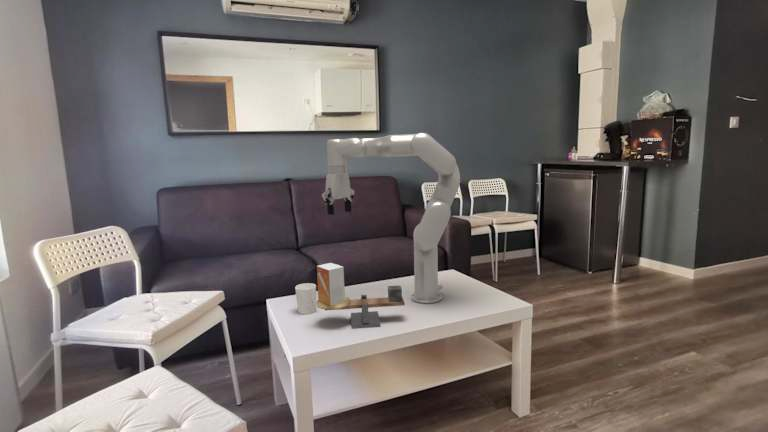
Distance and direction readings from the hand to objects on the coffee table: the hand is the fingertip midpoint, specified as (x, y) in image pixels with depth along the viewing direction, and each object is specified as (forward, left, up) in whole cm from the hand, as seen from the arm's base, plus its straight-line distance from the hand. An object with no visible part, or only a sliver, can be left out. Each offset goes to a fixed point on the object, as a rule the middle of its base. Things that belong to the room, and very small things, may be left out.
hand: (339, 212), depth 166 cm
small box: (+20, +15, -28) cm, 38 cm away
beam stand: (+12, +23, -36) cm, 45 cm away
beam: (+13, +22, -31) cm, 40 cm away
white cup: (+18, -2, -36) cm, 41 cm away
